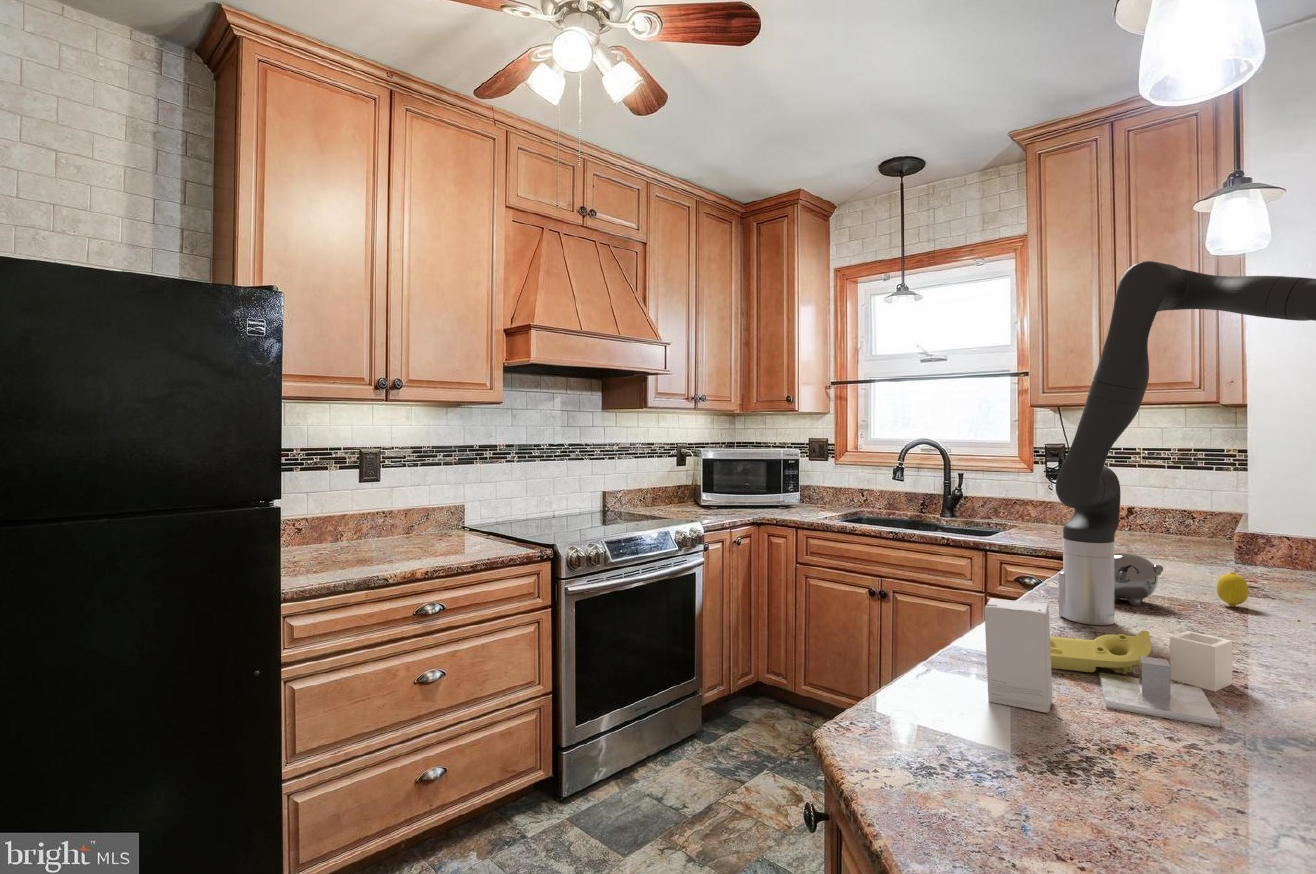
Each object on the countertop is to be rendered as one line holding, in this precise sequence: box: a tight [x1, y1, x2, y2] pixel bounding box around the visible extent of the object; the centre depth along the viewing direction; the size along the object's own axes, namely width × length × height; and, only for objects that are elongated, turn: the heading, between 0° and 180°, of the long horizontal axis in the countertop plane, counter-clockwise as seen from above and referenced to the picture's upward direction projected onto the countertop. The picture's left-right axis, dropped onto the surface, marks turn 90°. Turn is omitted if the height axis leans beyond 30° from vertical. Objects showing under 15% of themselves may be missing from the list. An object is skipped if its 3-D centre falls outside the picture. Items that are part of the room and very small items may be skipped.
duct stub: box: [1099, 656, 1221, 728], centre depth 99 cm, size 13×13×6 cm
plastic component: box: [1050, 629, 1152, 675], centre depth 114 cm, size 20×7×10 cm
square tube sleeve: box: [1169, 630, 1233, 692], centre depth 106 cm, size 6×6×7 cm
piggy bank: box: [1114, 552, 1164, 607], centre depth 156 cm, size 11×15×12 cm
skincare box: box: [984, 597, 1053, 714], centre depth 99 cm, size 8×6×15 cm
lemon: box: [1216, 571, 1250, 608], centre depth 151 cm, size 6×6×8 cm
